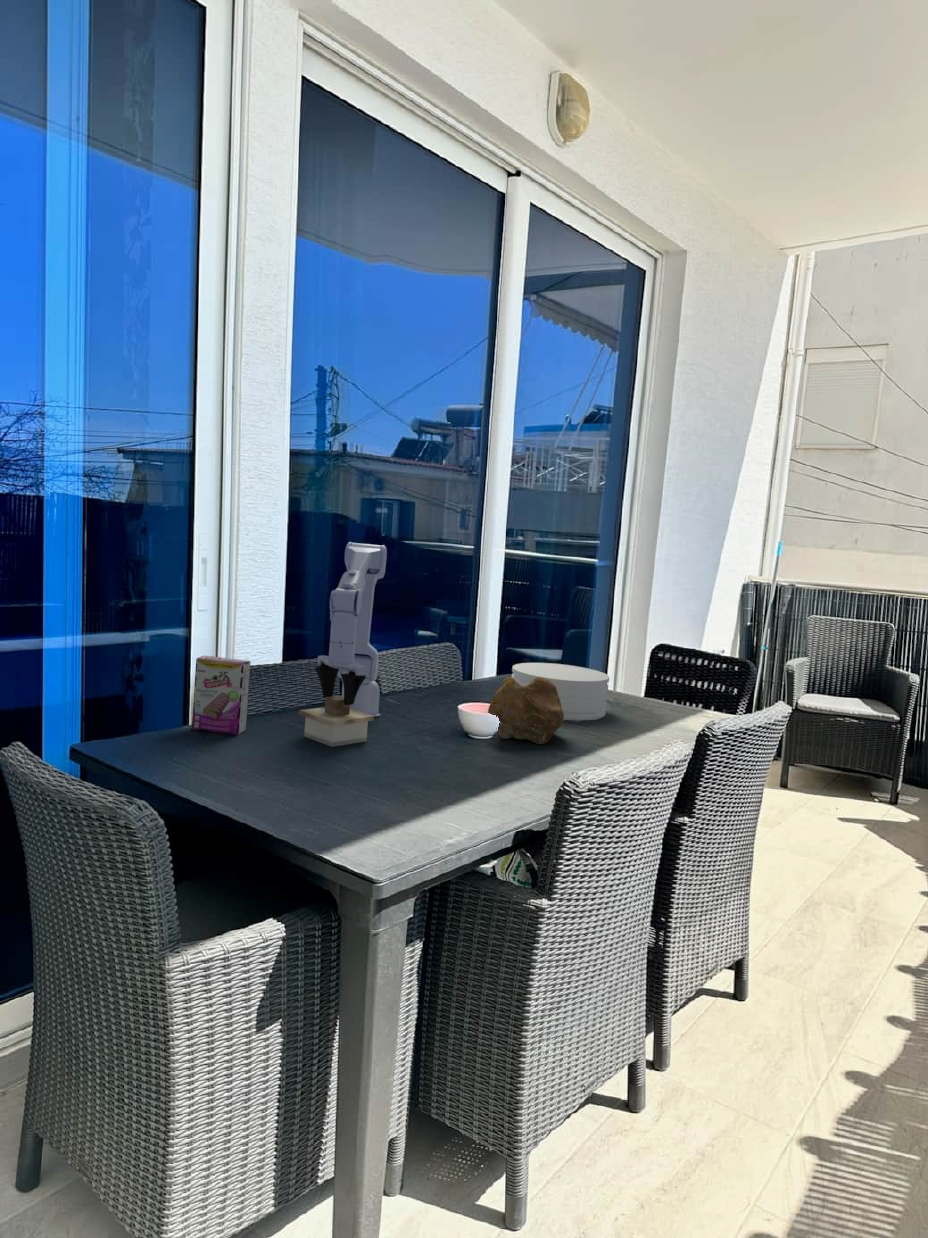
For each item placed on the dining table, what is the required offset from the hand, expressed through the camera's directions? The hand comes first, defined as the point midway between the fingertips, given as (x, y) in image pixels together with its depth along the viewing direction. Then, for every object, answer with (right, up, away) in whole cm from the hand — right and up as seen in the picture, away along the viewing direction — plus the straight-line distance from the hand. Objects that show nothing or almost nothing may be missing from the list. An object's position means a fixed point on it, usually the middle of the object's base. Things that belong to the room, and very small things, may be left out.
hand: (338, 701), depth 200 cm
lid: (0, -4, 0) cm, 4 cm away
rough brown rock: (+45, -11, +19) cm, 50 cm away
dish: (-1, -9, +1) cm, 9 cm away
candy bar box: (-27, -7, -1) cm, 28 cm away
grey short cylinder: (+56, -8, +56) cm, 79 cm away
